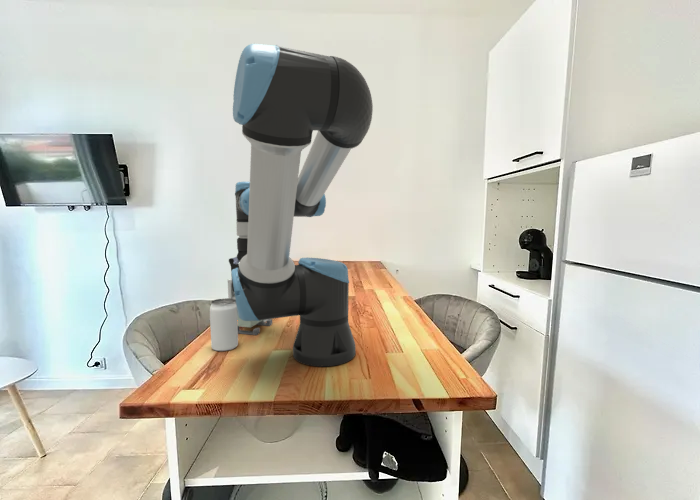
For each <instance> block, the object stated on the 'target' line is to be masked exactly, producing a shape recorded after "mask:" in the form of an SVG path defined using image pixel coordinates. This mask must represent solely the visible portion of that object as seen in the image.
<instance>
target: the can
mask: <svg viewBox="0 0 700 500" xmlns="http://www.w3.org/2000/svg"><path fill="white" fill-rule="evenodd" d="M210 303H211V305H210V307H209V320H210V321H209V323H210V324H209V325H210V341H211V343H210V346H211V349H212V350H213V351H216V352H229V351H231V350H234V349H236V347H237V346H239V334H238V321H237V305H236V304H235V300H234V299H230V298H228V297H226V298H225V297H223V298H217V299H213V300H212V301H211V302H210Z"/></svg>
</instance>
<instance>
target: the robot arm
mask: <svg viewBox="0 0 700 500" xmlns="http://www.w3.org/2000/svg"><path fill="white" fill-rule="evenodd" d="M235 73H236V74H235V80H234V87H233V94H232V95H233V104H232V117H233V120H234V122H235V123H237V124H239V125H240V126H241V127H242V129H241V133H242V135H243V136H244V138H245V139H246V140H247V142H249V143H250V163H249V164H250V166H249V167H250V169H249V181H238V182H236V184H235V193H234V196H235V210H236V211H235V212H236V236H238V237H237V238H236V244H237V245H236V247H237V248H236V249H237V254H236V256H235V257H231V258H228V263H229V265H230V273H231V278H232V290H233V291H234V292H235V299H236V305H237V311H238V316H239V318H240V319H241V320H244V321H260V320H266V319H272V320H274V319H281V318H288V317H289V318H290V317H297V316H299V326H298V330H297V332H296V335H295V339H294V341H293V345H292V346H293V347H292V356H293V358H294V359H295V361H297V362H298V363H300V364H304V365H306V366H311V367H319V368H320V367H333V366H339V365H342V364H346V363H348V362H349V361H351V360H353V359H354V357H355V356H356V342H355V339H354V338H355V337H354V336H353V333H352V329H351V326H350V324H349V323H350V322H349V290H350V289H349V288H350V287H349V284H350V280H349V268H348V266H347V265H346V264H345V263H344V262H342V261H338V260H334V259H329V258H320V257H319V258H318V257H300V258H299V260H298V264H295V262H294V261H293V259H292V258H291V257H290V254H291V253H290V252H291V242H292V236H293V235H292V234H293V226H294V219H295V218H296V217H297V218H298V217H302V218H304V217H305V218H312V217H320V216H322V215H323V214H324V213H325V209H326V206H327V199H326V195H325V194H326V191H327V190H328V188H329V186H330V185H331V183H332V182H333V180H334V179H335V177H336V175H337V173H338V171H339V170H340V168H341V167H342V165H343V164H344V162H345V160H346V158H347V156H348V155H349V153H351V152H350V151H351V150H352V149H355V148H357V147H359V146H360V144H362V141H363V140H364V139H365V136H367V133H368V131H369V130H370V127H371V123H372V119H373V112H374V110H373V109H374V108H373V107H374V106H373V97H372V94H371V90H370V88H369V85H368V83H367V81H366V78H365V77H364V75H363V74H362V73H361V72H360V70H359V69H358V68H357V67H356V66H354V65H353V64H352V63H350V61H347V60H346V59H343V58H341V57H338V56H334V55H330V56H329V55H324V54H319V53H314V52H310V51H309V52H308V51H305V50H299V49H294V48H289V47H283V46H279V45H278V44H264V43H263V44H261V43H250V44H248V45H246V46H245V47H244V48H243V50H242V51H241V53H240V57H239V60H238V63H237V69H236V72H235ZM314 131H317V132H316V135H315V137H314V139H313V142H312V137H313V132H314ZM311 143H312V145H311ZM310 145H311V147H310V149H309V152H308V154H307V157H306V159H305V161H304V163H303V165H302V168H301V170H300V163H301V156H302V151H303V150H304V149H306V148H307V147H309V146H310ZM294 217H295V218H294Z"/></svg>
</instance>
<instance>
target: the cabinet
mask: <svg viewBox="0 0 700 500" xmlns="http://www.w3.org/2000/svg"><path fill="white" fill-rule="evenodd" d="M227 294H228V297H227V298H230V299H234V300H235V304H236V299H235V292H234V291H233V290H232V277H231V278H229V279H227ZM237 320H238V311H237ZM272 325H273V319H266V320H262V321H260V322H259V323H257V324H255V325H254V326H263V327H264V326H265V327H270V326H272ZM259 334H261V327H255V328H253V330H246V329H244V330H243V329H241V328H240V326H238V335H250V336H251V335H252V336H257V335H259Z"/></svg>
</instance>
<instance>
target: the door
mask: <svg viewBox="0 0 700 500" xmlns="http://www.w3.org/2000/svg"><path fill="white" fill-rule="evenodd" d="M260 321H262V320H260ZM260 321H244V320H241V319H240V318H239V316H238V321H237V323H238V326H240V327H244V328H252V327H254V326H256V325H255V324H257V323H259V322H260Z"/></svg>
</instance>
